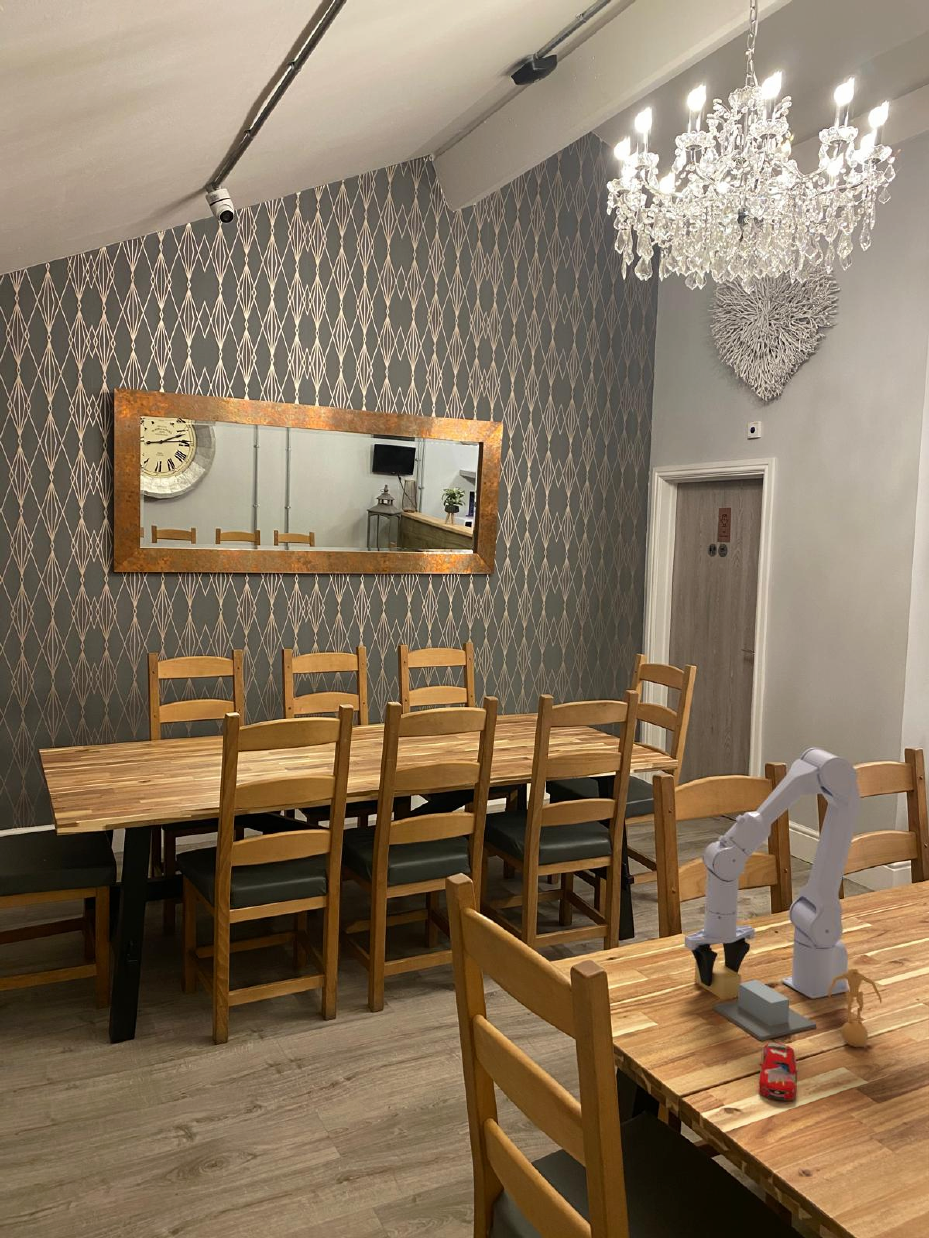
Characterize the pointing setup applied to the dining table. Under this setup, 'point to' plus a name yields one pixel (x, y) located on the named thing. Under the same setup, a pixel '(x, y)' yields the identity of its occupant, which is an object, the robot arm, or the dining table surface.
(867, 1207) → the dining table surface
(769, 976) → the dining table surface
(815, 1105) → the dining table surface
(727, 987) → the ochre brick
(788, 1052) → the race car
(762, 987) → the slate brick
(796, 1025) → the mat
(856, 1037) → the figurine
